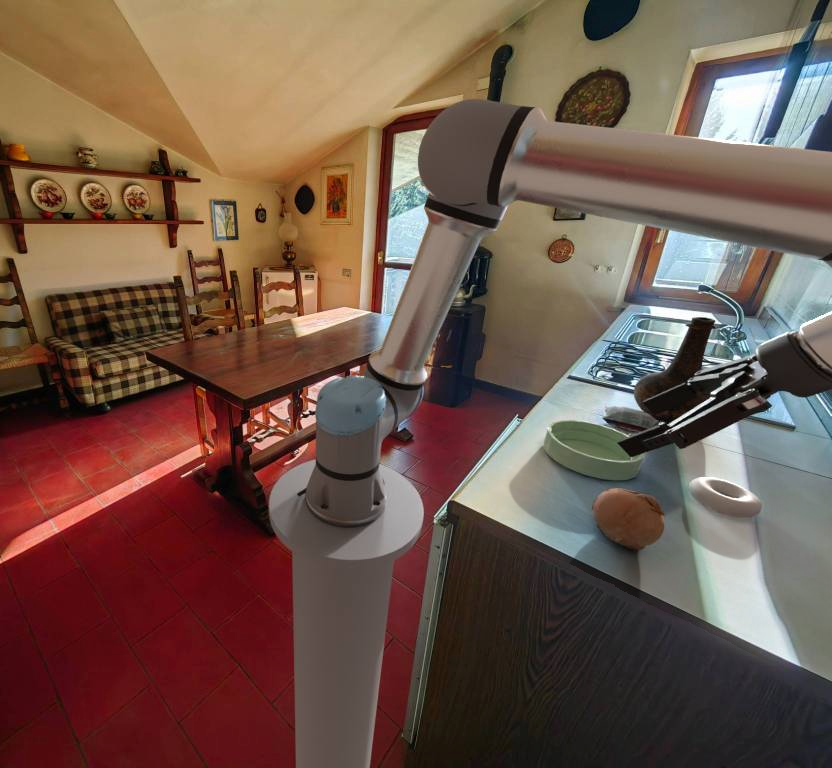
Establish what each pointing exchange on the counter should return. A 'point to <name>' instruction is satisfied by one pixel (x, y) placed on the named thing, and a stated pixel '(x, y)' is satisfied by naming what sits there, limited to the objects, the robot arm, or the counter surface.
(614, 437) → the bowl
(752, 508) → the donut
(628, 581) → the counter surface
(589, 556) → the counter surface
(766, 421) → the counter surface
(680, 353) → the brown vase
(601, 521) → the onion
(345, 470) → the robot arm
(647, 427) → the packaged food
